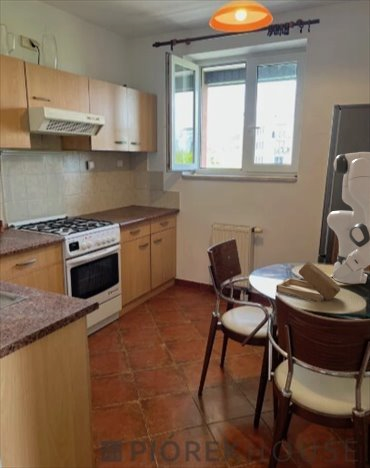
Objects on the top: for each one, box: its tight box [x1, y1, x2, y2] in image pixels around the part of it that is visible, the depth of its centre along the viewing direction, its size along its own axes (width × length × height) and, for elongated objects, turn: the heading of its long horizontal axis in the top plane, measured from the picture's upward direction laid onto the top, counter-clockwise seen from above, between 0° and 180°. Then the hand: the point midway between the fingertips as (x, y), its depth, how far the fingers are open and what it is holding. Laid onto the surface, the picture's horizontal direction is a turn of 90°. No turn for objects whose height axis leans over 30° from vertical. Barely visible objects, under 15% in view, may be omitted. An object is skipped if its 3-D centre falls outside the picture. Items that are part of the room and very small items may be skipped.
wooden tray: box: [275, 277, 325, 303], centre depth 180 cm, size 15×22×4 cm
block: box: [298, 261, 341, 301], centre depth 173 cm, size 11×8×20 cm
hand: (334, 276), depth 169 cm, fingers closed
